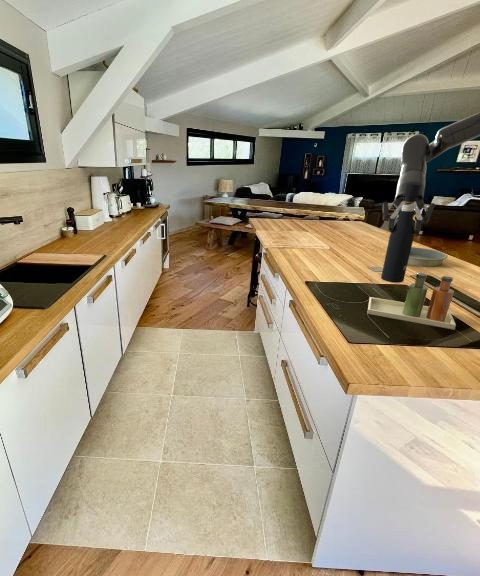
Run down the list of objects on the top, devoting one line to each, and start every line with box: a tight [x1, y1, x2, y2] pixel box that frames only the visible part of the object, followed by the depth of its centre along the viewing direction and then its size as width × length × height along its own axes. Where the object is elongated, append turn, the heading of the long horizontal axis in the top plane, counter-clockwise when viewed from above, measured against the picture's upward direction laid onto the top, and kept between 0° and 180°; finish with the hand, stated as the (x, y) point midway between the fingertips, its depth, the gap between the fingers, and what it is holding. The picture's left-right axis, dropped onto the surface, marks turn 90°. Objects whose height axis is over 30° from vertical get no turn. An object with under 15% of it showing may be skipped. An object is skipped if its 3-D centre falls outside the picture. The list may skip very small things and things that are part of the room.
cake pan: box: [407, 246, 448, 268], centre depth 162 cm, size 25×25×4 cm
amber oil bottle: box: [426, 275, 455, 322], centre depth 98 cm, size 5×5×14 cm
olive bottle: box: [402, 272, 429, 317], centre depth 101 cm, size 5×5×14 cm
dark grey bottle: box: [380, 184, 421, 284], centre depth 98 cm, size 6×6×30 cm
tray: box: [366, 296, 457, 330], centre depth 104 cm, size 23×12×2 cm, turn 60°
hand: (403, 231), depth 96 cm, fingers closed on dark grey bottle, 5 cm apart
